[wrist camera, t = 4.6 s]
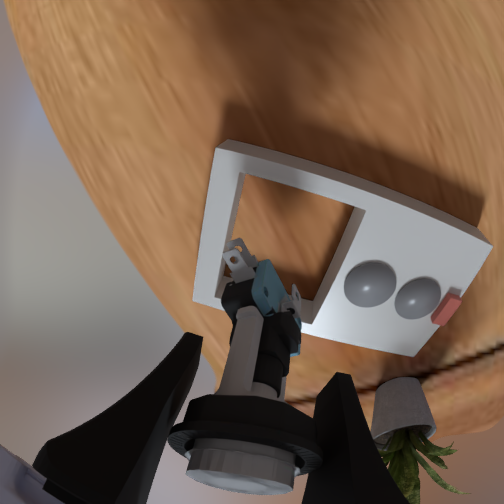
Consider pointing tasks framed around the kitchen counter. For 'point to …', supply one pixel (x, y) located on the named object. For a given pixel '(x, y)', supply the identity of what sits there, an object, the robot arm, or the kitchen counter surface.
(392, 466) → the house plant
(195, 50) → the kitchen counter surface
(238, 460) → the push button
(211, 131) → the kitchen counter surface
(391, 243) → the control panel
